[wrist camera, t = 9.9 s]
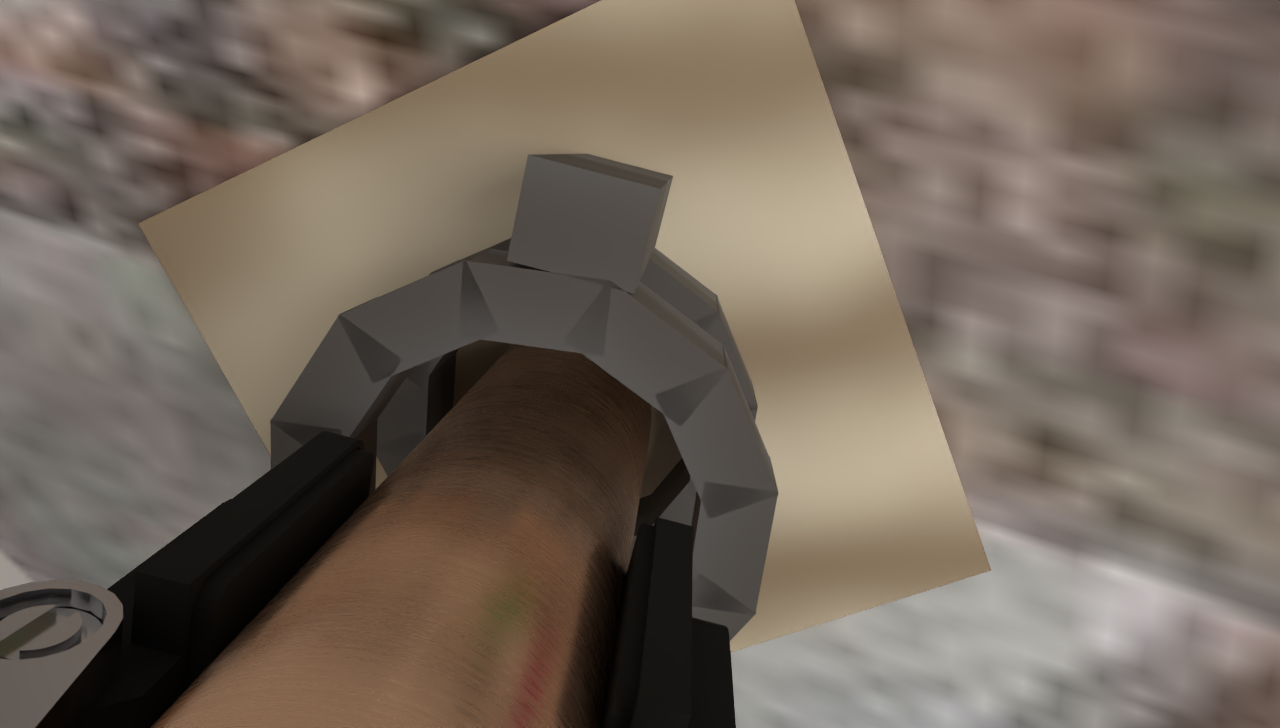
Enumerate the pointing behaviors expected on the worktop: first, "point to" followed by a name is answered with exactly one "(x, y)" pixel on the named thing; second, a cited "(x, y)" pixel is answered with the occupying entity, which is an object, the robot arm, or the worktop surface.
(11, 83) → the worktop surface
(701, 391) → the collar stand
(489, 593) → the tan cylinder
